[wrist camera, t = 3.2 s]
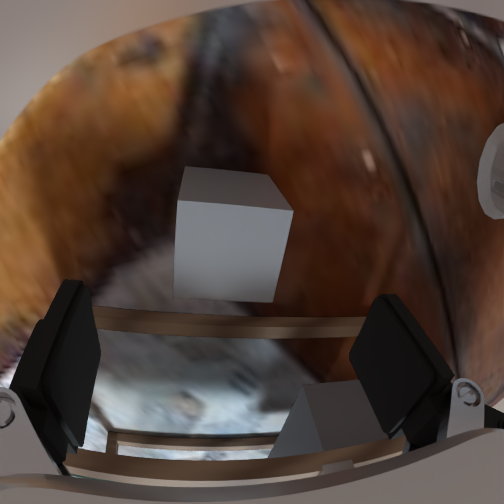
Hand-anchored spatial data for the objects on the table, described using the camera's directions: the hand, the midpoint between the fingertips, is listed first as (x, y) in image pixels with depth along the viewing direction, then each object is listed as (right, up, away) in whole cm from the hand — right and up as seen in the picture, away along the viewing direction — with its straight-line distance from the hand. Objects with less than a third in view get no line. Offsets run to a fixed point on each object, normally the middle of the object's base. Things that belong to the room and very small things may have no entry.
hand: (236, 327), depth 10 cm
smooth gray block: (-1, +5, +10) cm, 11 cm away
